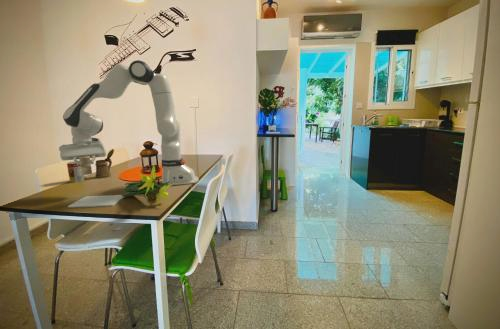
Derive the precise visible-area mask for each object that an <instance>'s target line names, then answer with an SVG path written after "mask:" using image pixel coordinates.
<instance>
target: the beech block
mask: <svg viewBox="0 0 500 329" xmlns="http://www.w3.org/2000/svg"><path fill="white" fill-rule="evenodd" d="M90 160H91V158H90V156H84V157H79V159H78V161H80V166H81V172H82V175H84V176H87V175H92V174H93V170H92V164H91V163H90Z"/></svg>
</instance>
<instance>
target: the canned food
mask: <svg viewBox="0 0 500 329" xmlns="http://www.w3.org/2000/svg"><path fill="white" fill-rule="evenodd" d="M66 166H67V173H68V178H69V182H70V183H79V182H84V181H85V175H82V172H81V166H80V165H77V163H76V162H75V161H68V162H67V163H66Z"/></svg>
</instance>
